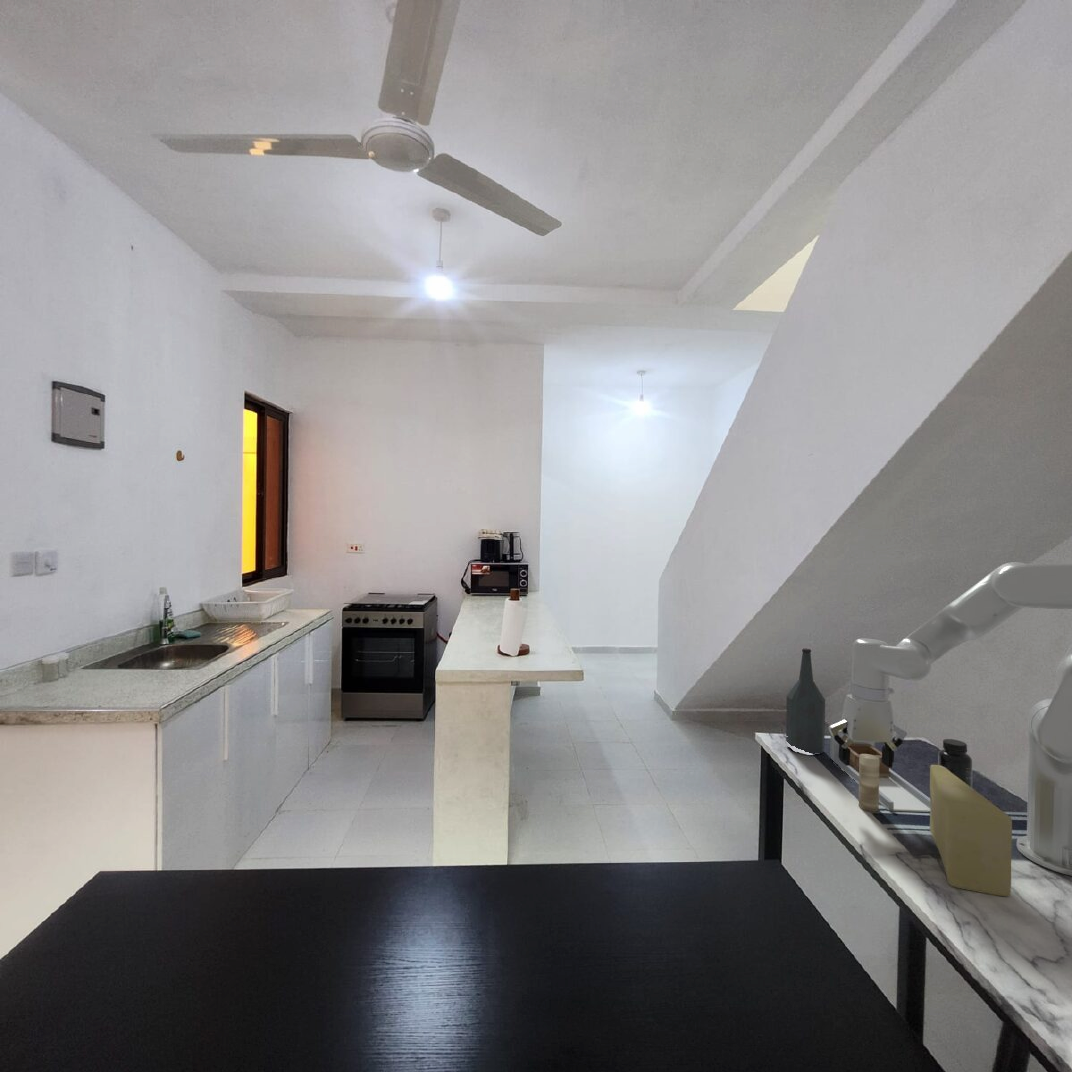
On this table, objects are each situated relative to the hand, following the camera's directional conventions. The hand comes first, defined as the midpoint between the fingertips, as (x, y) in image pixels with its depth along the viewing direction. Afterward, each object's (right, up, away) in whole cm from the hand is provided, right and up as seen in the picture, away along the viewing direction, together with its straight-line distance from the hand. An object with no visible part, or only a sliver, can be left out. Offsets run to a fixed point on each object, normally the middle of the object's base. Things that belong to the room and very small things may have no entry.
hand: (865, 764), depth 128 cm
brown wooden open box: (+11, -9, +19) cm, 24 cm away
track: (+11, -10, +12) cm, 19 cm away
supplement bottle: (+28, -11, +9) cm, 31 cm away
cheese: (+6, -11, -20) cm, 23 cm away
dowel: (+1, -10, 0) cm, 10 cm away
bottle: (+2, -10, +34) cm, 35 cm away
